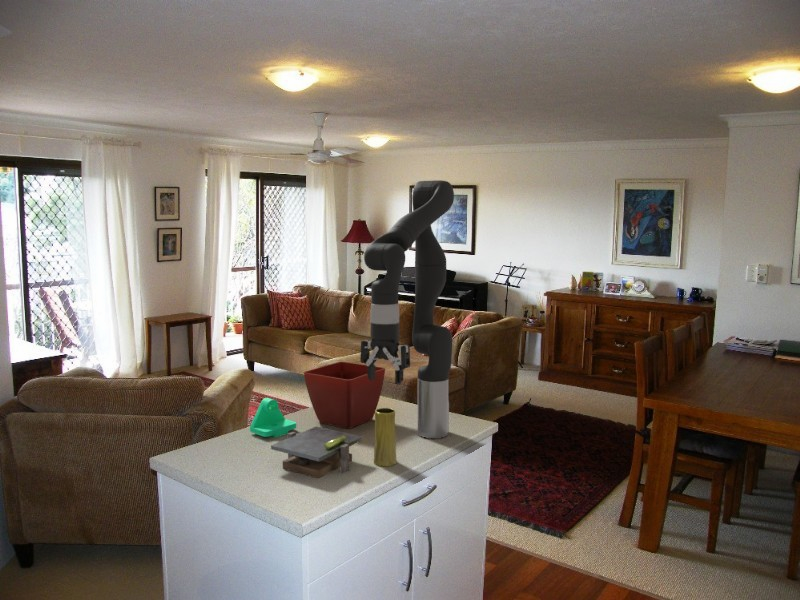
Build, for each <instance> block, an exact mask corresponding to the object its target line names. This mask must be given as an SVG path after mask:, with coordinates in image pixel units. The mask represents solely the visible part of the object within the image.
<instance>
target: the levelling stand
mask: <svg viewBox="0 0 800 600" xmlns="http://www.w3.org/2000/svg"><path fill="white" fill-rule="evenodd" d="M295 435H297V432H295V431H291V432H288V434H287V439H288V438H290V437H292V436H295ZM351 462H353V454H352V453H350V447H349V445H348V444H344V445H342V446H341V451H340V452H338V453H336V454H334V455H332V456H330V457H328V458H326V459H324V460H321V461H315V460H311V459H307V458H303V457H299V456H295V455H291V454H288V453H287V459H284V460H282V469H283V470H287V471H290V472H294V473H298V474H301V475H305V476H308V477H313V478H315V479H320V478H321V477H324V476H325V475H328V474H329V473H331V472H333V471H336V470H338V469H340V473H341V474H343V475H344V474H346V473H348V472H350V463H351Z"/></svg>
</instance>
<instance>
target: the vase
mask: <svg viewBox="0 0 800 600" xmlns="http://www.w3.org/2000/svg"><path fill="white" fill-rule="evenodd" d="M396 445H397V443H396V411H395V409H394V408H391V407H381V408H376V410H375V414H374V447H373V448H374V451H373V463H374V465H376V466H379V467H392V466H394V465H396V464H397V462H398V461H397V448H396V447H397V446H396Z"/></svg>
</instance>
